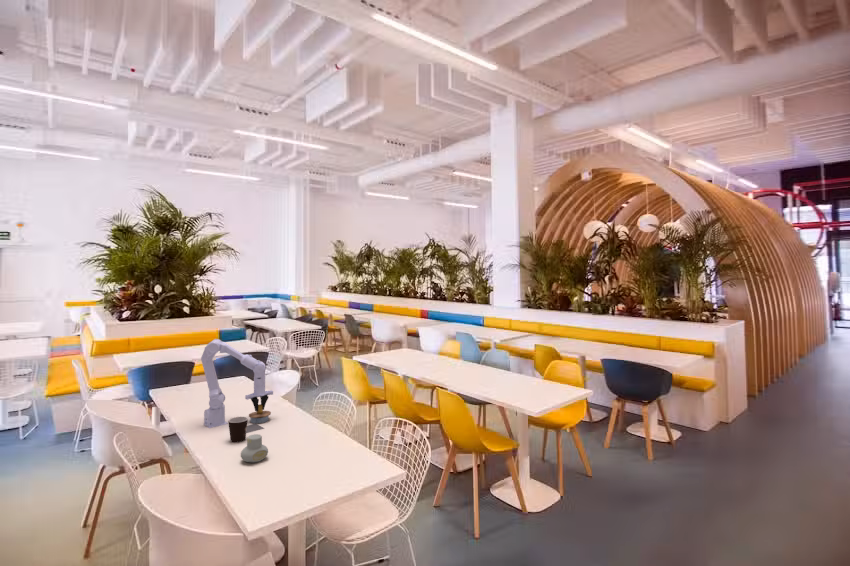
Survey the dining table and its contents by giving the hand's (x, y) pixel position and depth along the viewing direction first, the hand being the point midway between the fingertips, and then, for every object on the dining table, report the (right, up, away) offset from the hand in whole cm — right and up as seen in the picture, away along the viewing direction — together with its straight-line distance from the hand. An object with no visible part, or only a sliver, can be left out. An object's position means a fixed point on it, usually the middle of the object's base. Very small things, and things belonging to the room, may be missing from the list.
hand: (259, 410), depth 236 cm
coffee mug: (0, -7, -26) cm, 27 cm away
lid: (0, -3, 0) cm, 3 cm away
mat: (0, -6, -12) cm, 13 cm away
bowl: (0, -6, 0) cm, 6 cm away
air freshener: (+16, -7, -48) cm, 51 cm away
